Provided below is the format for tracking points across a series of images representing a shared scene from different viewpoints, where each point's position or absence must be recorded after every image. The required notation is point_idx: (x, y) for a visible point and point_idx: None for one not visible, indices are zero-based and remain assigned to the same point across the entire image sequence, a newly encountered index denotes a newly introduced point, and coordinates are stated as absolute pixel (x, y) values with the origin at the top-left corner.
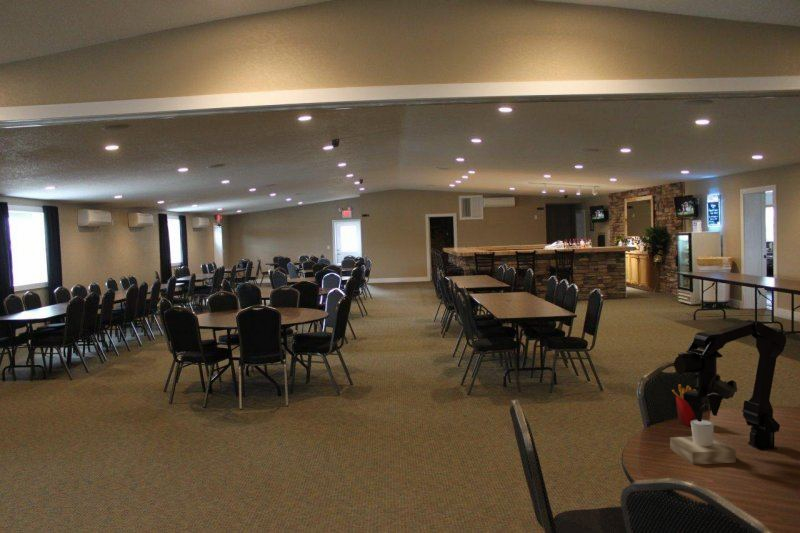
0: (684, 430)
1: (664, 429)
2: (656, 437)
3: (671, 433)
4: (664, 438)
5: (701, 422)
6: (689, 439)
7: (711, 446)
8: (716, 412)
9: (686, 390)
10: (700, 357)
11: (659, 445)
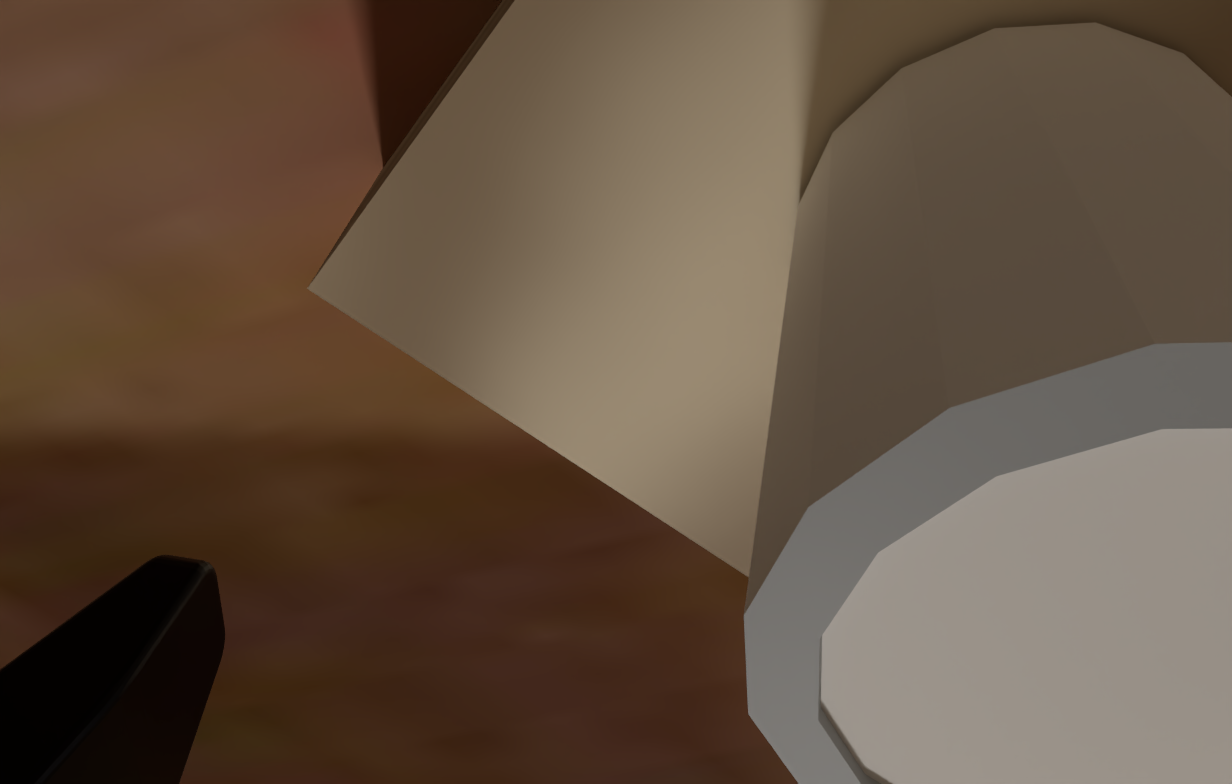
0: (36, 626)
1: (230, 772)
2: (596, 769)
3: (295, 696)
4: (557, 707)
5: (1134, 692)
6: None
7: (1130, 6)
8: (141, 671)
9: None
10: None
11: None
